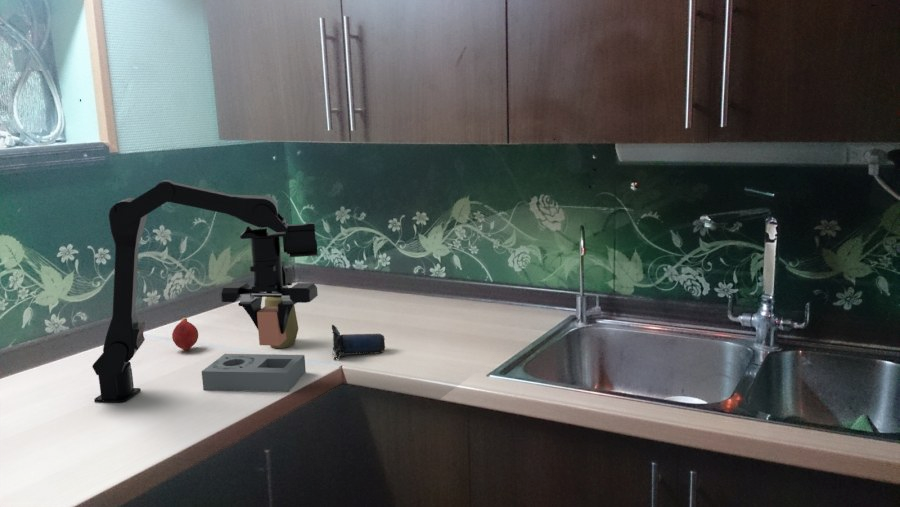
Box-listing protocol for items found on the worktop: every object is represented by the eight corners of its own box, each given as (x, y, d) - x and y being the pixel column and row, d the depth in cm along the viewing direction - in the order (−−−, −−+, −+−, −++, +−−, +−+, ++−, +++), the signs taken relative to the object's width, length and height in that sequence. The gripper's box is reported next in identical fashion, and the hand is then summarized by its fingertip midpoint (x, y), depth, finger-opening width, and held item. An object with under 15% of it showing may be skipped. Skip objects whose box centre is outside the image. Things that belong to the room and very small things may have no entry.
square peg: (279, 345, 153) (276, 312, 151) (259, 345, 153) (256, 312, 152) (286, 339, 157) (284, 306, 156) (267, 338, 158) (264, 306, 156)
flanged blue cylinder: (334, 367, 169) (386, 363, 172) (334, 336, 166) (388, 333, 169) (329, 348, 177) (379, 345, 180) (329, 318, 174) (380, 316, 177)
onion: (191, 354, 176) (188, 322, 174) (169, 354, 177) (165, 321, 176) (204, 347, 182) (200, 315, 180) (182, 346, 183) (179, 314, 181)
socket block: (288, 391, 151) (286, 372, 150) (203, 389, 153) (201, 371, 152) (305, 372, 161) (304, 354, 161) (226, 371, 164) (224, 353, 163)
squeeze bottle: (258, 348, 179) (252, 274, 176) (280, 338, 186) (275, 267, 183) (284, 352, 176) (278, 277, 172) (306, 342, 183) (301, 270, 179)
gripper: (323, 251, 158) (327, 322, 161) (239, 251, 161) (244, 321, 164) (306, 261, 147) (311, 338, 150) (216, 261, 150) (222, 336, 153)
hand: (272, 333), depth 155 cm, fingers closed on square peg, 4 cm apart
